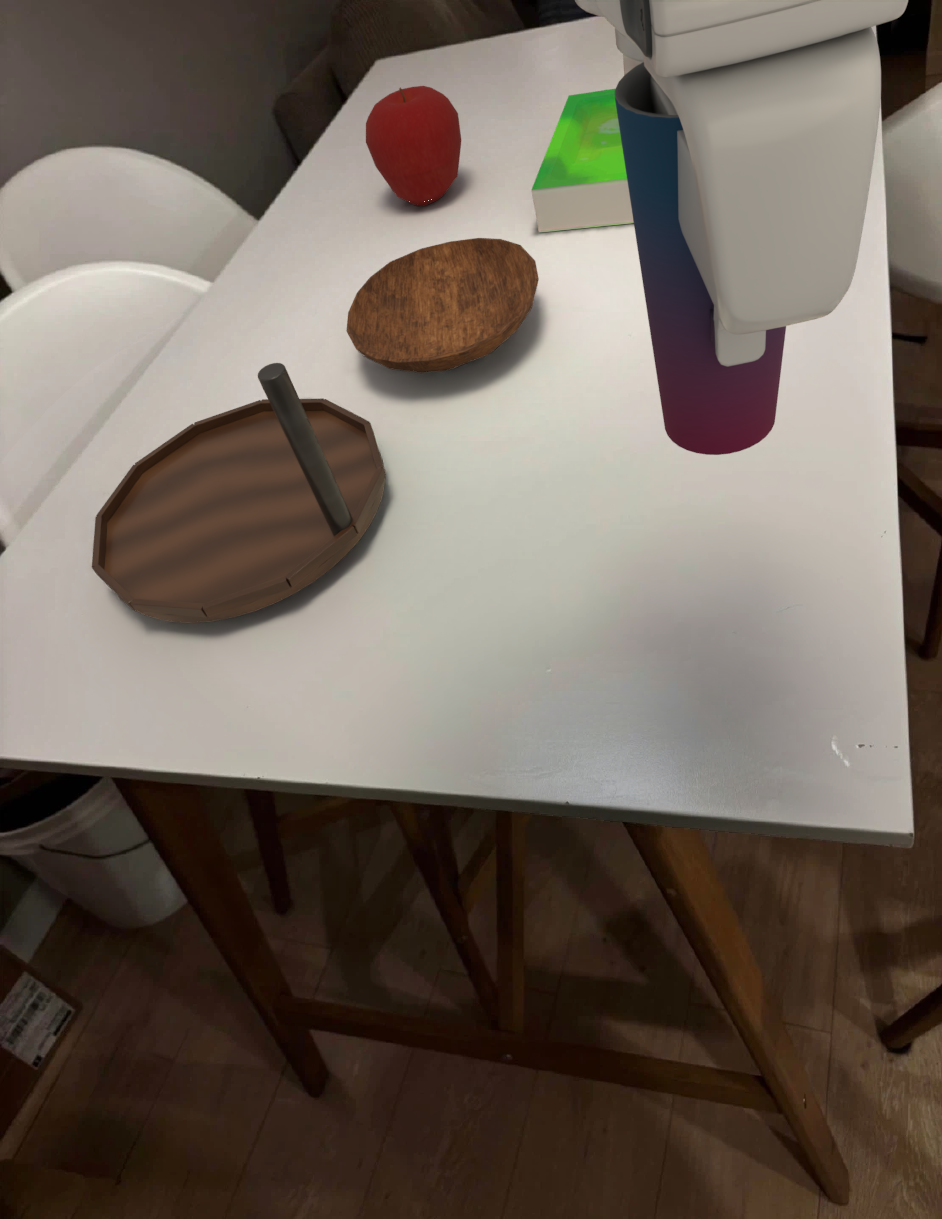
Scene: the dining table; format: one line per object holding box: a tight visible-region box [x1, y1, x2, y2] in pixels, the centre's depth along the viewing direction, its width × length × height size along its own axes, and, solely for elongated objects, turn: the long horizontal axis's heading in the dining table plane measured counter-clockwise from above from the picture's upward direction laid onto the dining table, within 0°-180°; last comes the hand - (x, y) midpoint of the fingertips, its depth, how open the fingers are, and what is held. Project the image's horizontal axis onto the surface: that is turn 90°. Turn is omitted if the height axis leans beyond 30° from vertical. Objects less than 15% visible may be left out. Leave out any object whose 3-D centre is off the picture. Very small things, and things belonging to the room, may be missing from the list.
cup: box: [614, 62, 787, 456], centre depth 36 cm, size 7×7×15 cm
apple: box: [365, 85, 462, 207], centre depth 110 cm, size 12×12×13 cm
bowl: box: [345, 237, 540, 374], centre depth 90 cm, size 20×22×5 cm
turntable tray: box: [91, 362, 387, 624], centre depth 73 cm, size 26×26×16 cm
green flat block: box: [531, 88, 634, 234], centre depth 104 cm, size 25×25×5 cm
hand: (716, 307), depth 37 cm, fingers closed on cup, 6 cm apart
